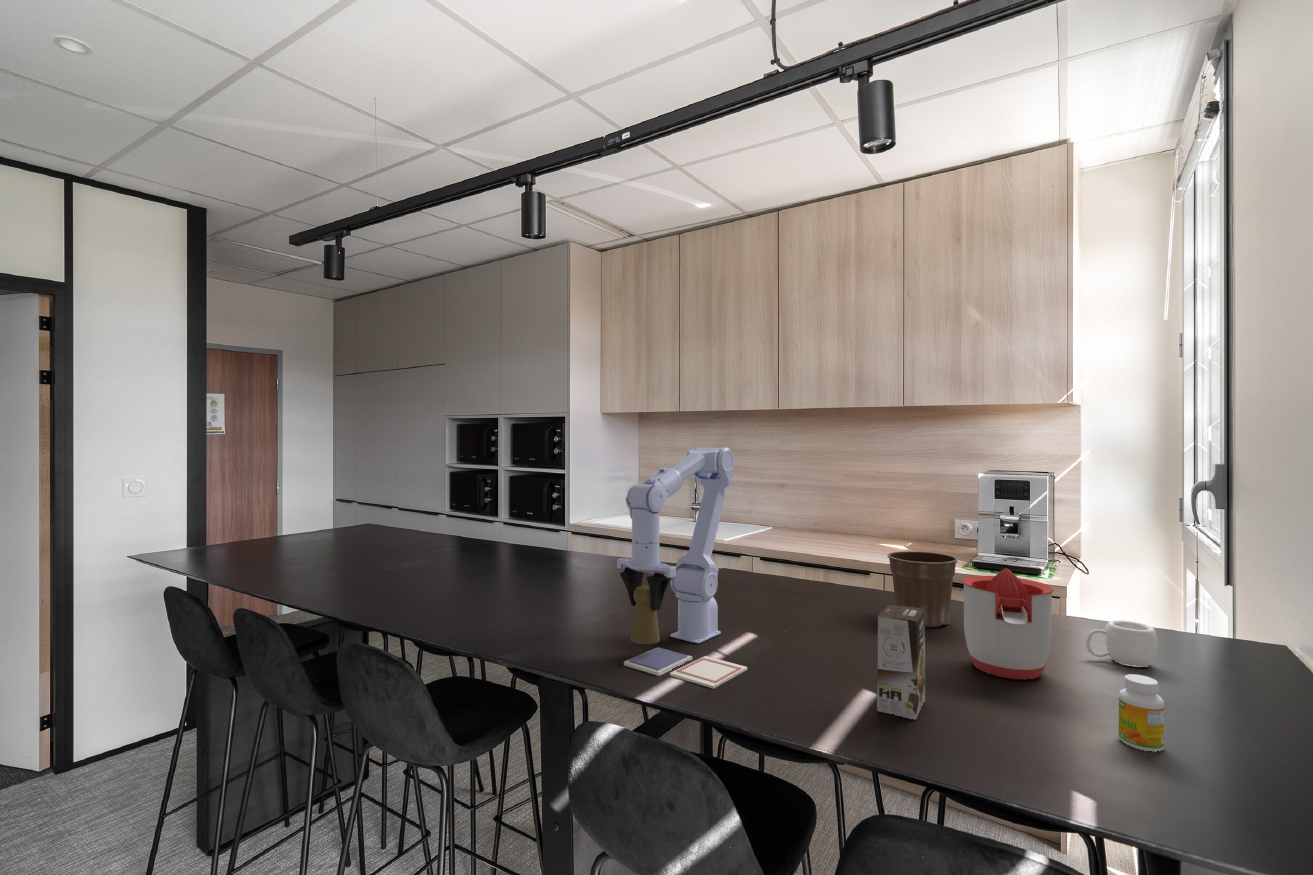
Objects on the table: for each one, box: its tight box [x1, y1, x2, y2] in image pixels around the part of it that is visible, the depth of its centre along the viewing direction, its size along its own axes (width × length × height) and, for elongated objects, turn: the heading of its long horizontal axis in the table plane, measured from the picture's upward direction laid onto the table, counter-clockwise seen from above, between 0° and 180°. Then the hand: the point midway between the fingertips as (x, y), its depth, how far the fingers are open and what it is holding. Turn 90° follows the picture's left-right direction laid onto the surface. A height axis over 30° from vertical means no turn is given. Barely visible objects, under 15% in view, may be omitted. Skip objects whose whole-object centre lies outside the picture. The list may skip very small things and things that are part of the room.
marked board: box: [669, 655, 748, 690], centre depth 121 cm, size 12×10×1 cm
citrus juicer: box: [961, 568, 1054, 680], centre depth 122 cm, size 16×17×20 cm
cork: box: [630, 585, 661, 645], centre depth 130 cm, size 6×6×11 cm
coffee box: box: [876, 604, 926, 720], centre depth 106 cm, size 9×6×16 cm
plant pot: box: [886, 550, 959, 628], centre depth 156 cm, size 16×16×16 cm
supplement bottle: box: [1118, 673, 1165, 753], centre depth 93 cm, size 5×5×10 cm
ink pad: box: [623, 647, 693, 677], centre depth 127 cm, size 11×9×1 cm
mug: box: [1085, 619, 1158, 666], centre depth 127 cm, size 12×8×8 cm
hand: (645, 607), depth 130 cm, fingers open, 5 cm apart
